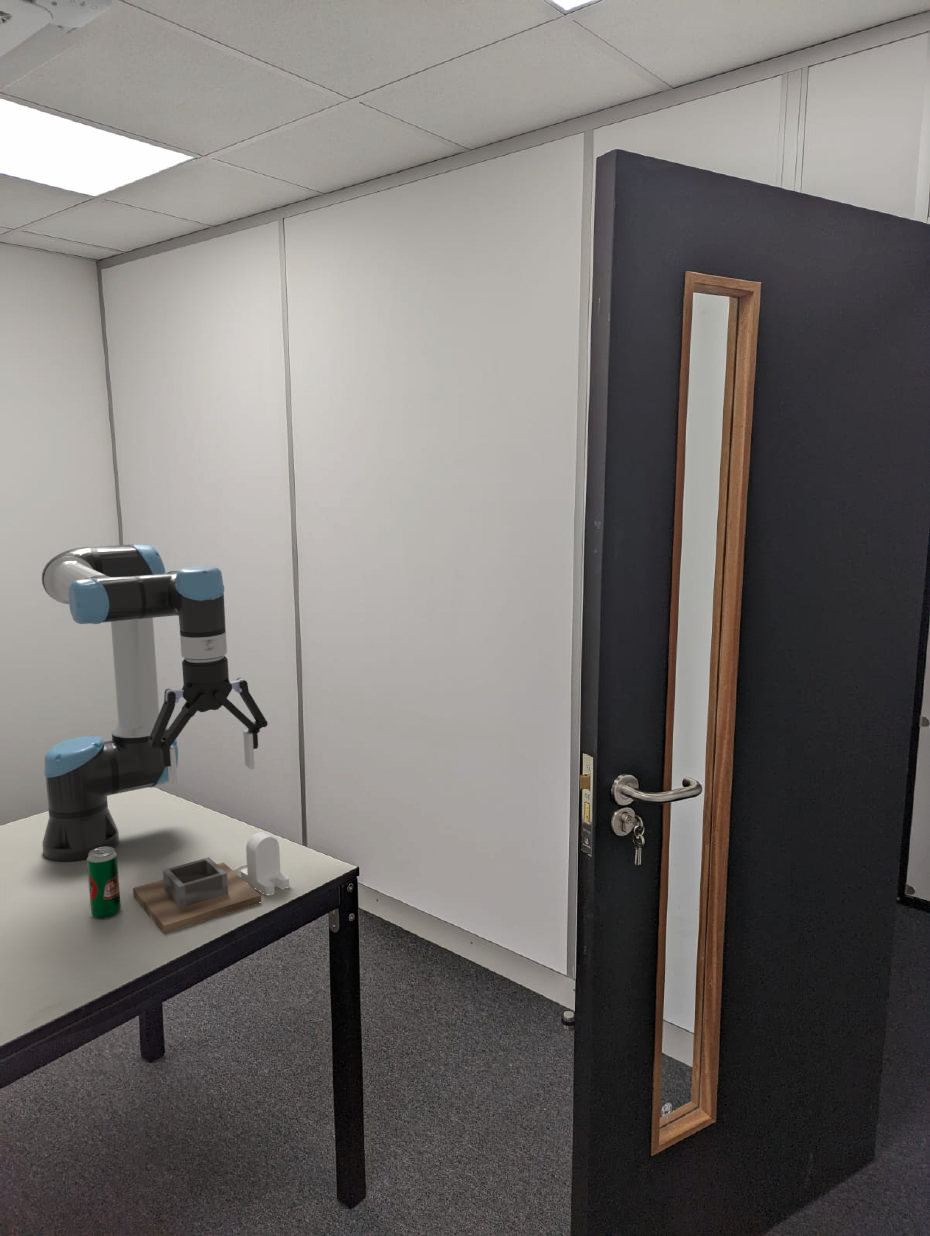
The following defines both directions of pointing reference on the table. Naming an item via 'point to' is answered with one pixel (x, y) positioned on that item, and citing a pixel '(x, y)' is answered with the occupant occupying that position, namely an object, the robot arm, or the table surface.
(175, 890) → the socket board
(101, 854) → the soda can
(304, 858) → the table surface
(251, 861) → the cable organizer
